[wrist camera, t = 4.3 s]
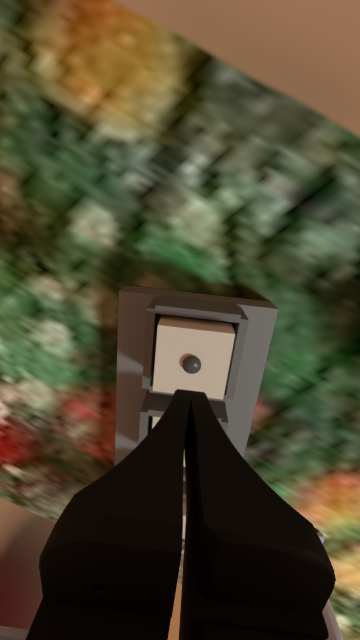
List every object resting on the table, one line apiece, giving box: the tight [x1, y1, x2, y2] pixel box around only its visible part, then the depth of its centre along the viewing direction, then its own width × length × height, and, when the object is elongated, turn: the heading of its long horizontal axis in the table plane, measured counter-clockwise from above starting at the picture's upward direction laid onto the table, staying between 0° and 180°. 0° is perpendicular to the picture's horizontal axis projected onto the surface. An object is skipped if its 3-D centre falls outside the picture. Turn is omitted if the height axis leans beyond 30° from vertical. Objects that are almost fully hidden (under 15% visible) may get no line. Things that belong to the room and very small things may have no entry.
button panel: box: [115, 285, 278, 499], centre depth 21 cm, size 21×11×5 cm, turn 174°
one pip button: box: [153, 315, 235, 400], centre depth 16 cm, size 4×4×2 cm
